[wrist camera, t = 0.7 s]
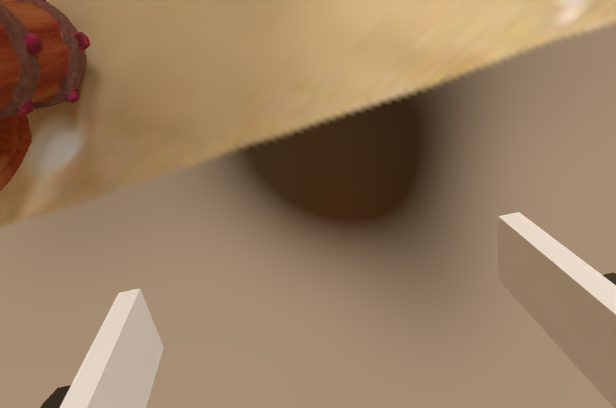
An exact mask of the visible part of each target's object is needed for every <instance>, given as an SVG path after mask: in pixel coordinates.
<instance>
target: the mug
mask: <svg viewBox="0 0 616 408" xmlns="http://www.w3.org/2000/svg"><path fill="white" fill-rule="evenodd" d="M89 45H90V41H89V39H88V37H87V36H86V35H85V34H83V33H82V32H77V30H76V28H75V27H74V26H73V25H72V24H71V22H70V21H69V19H68V18H67V17H66V16H65V15H64V14H63V13H61V12H60V11H59V10H58V9H56V8H55V7H54V6H52V5H51V4H49V3H48V2H46V0H0V191H1V190H2V189H3V188H4V187H5V186H6V185H7V184H8V182H9V181H10V180H11V179H12V177H13V175H14V174H15V172H16V171H17V169H18V168H19V166H20V164H21V163H22V161H23V159H24V157H25V154H26V152H27V150H28V147H29V145H30V144H31V141H32V135H31V132H30V129H29V124H28V119H27V116H26V114H29V113H30V112H32V111H33V109H37V108H43V107H48V106H52V105H55V104H58V103H61V102H62V101H64V100H65V101H66V102H72V103H74V102H76V101H78V99H79V98H80V94H79V90H78V89H77V88H78V86H79V84H80V82H81V80H82V76H83V72H84V67H85V63H86V58H85V49H86V48H87V47H88V46H89Z"/></svg>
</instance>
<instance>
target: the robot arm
mask: <svg viewBox="0 0 616 408" xmlns="http://www.w3.org/2000/svg"><path fill="white" fill-rule="evenodd" d="M498 280H499V281H500V282H501V283H502V285H503V286H504V287H505V288H506V289H507V290H508V291H509V292H510V293H511V294H512V296H513V297H514V298H515V299H516V300H517V301H518V302H519V303H520V304H521V306H522V307H524V309H525V310H526V311H527V312H528V313H529V314H530V316H531V317H532V318H533V319H534V320H535V321H536V322H537V323H538V324H539V325H540V326H541V327H542V329H543V330H544V331H545V332H546V333H547V334H548V335H549V337H550V338H551V339H552V340H553V341H554V342H555V343H556V344H557V345H558V346H559V347H560V349H561V350H562V351H563V352H564V353H565V354H566V355H567V356H568V357H569V359H570V360H571V361H572V362H573V363H574V364H575V365H576V366H577V367H578V369H579V370H580V371H581V372H582V373H583V374H584V375H585V376H586V377H587V379H589V381H590V382H591V383H592V384H593V385H594V386H595V387H596V388H597V390H599V392H600V393H601V394H602V395H603V396H604V397H605V398H606V400H607V401H608V402H609V403H610V404H611V405H612V406H613V407H614V408H616V274H615V273H609V274H605V275H601V274H600V273H599V272H597V271H596V270H595V269H593V268H592V267H591V266H589V265H588V264H587V263H585V262H584V261H583V260H581V259H580V258H579V257H577V256H576V255H575V254H573V253H572V252H571V251H570V250H568V249H567V248H566V247H564V246H563V245H562V244H560V243H559V242H558V241H556V240H555V239H554V238H552V237H551V236H550V235H548V234H547V233H546V232H544V231H543V230H542V229H540V228H539V227H538V226H536V225H535V224H534V223H532V222H531V221H530V220H528V219H527V218H526V217H525V216H523V215H522V214H520V213H519V212H518V213H512V214H507V215H502V216H498ZM163 348H164V347H163V345H162V342H161V340H160V337H159V335H158V332H157V330H156V327H155V325H154V322H153V320H152V317H151V315H150V312H149V310H148V307H147V304H146V302H145V299H144V297H143V295H142V292H141V289H134V290H130V291H125V292H120V293H118V295H117V297H116V299H115V301H114V303H113V305H112V307H111V309H110V311H109V313H108V315H107V317H106V318H105V321H104V323H103V324H102V326H101V328H100V330H99V332H98V334H97V336H96V338H95V340H94V342H93V344H92V346H91V348H90V350H89V352H88V353H87V355H86V357H85V359H84V361H83V363H82V365H81V367H80V369H79V371H78V373H77V375H76V377H75V379H74V381H73V383H72V385H71V386H65V387H61V388H57V389H56V390H55V392H54V393H53V394H52V395H51V396H50V397H49V398H48V399H47V400H46V401H45V402H44V403H43V404H42V406H41V408H146V406H147V403H148V399H149V396H150V392H151V389H152V386H153V382H154V379H155V375H156V372H157V369H158V365H159V362H160V358H161V355H162V352H163Z"/></svg>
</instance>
